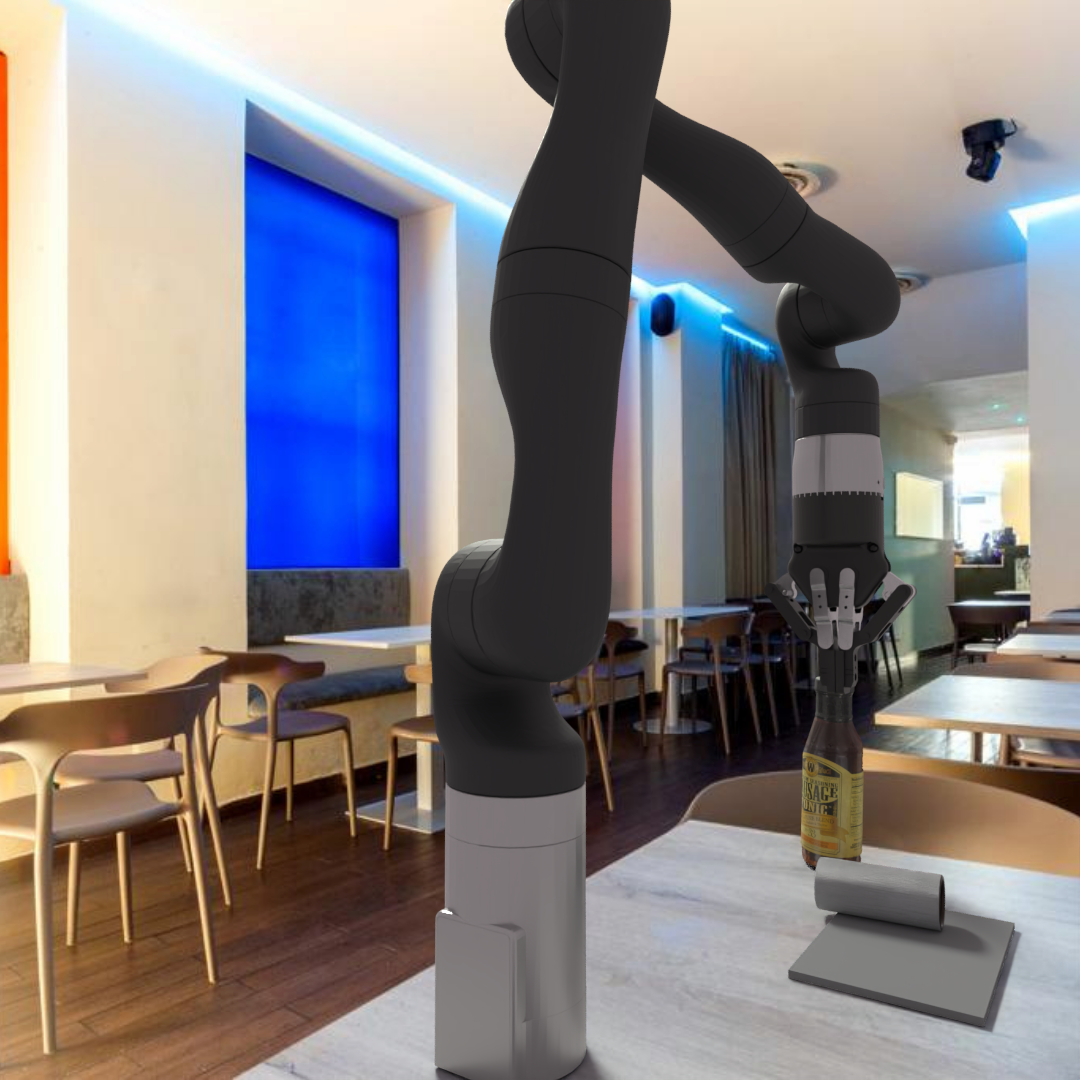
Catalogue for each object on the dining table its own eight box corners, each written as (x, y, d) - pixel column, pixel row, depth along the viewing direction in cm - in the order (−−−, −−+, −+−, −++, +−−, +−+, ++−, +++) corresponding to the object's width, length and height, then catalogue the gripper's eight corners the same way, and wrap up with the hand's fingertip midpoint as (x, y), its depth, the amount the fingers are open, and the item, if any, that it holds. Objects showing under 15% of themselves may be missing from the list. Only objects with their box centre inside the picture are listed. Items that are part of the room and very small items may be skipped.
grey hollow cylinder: (815, 918, 79) (941, 941, 74) (812, 871, 79) (938, 891, 74) (825, 893, 83) (946, 913, 78) (823, 847, 83) (944, 865, 78)
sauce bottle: (788, 859, 96) (787, 675, 97) (833, 852, 99) (830, 673, 100) (832, 878, 90) (829, 682, 91) (878, 870, 93) (875, 679, 94)
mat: (984, 1027, 61) (983, 1018, 61) (788, 977, 68) (788, 969, 68) (1014, 929, 77) (1014, 922, 77) (854, 898, 85) (854, 892, 85)
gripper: (748, 492, 78) (749, 691, 77) (909, 483, 70) (912, 704, 70) (776, 498, 84) (777, 683, 83) (927, 491, 77) (929, 694, 76)
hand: (839, 692), depth 76 cm, fingers closed
